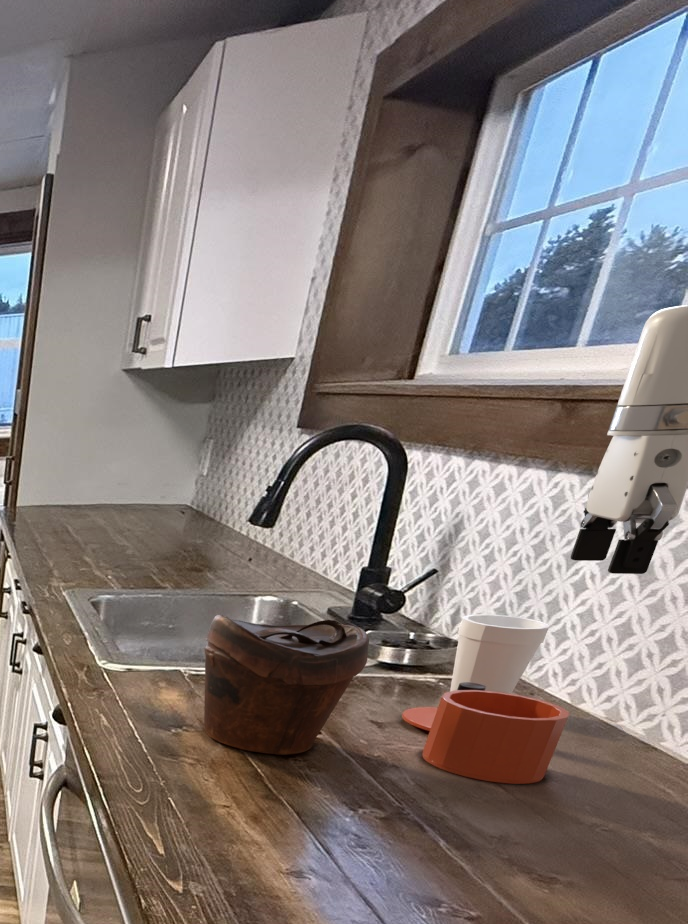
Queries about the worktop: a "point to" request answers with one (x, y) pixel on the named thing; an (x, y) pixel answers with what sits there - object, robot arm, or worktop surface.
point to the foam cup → (495, 650)
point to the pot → (494, 736)
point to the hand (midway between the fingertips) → (605, 566)
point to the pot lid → (432, 709)
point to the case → (277, 681)
